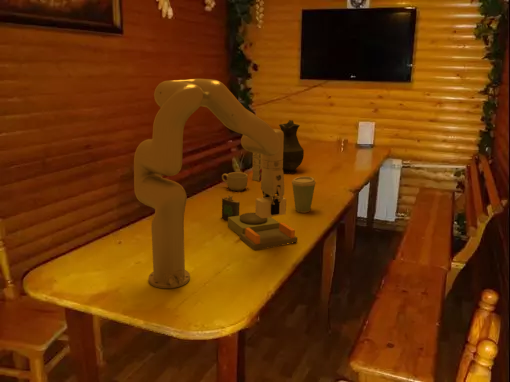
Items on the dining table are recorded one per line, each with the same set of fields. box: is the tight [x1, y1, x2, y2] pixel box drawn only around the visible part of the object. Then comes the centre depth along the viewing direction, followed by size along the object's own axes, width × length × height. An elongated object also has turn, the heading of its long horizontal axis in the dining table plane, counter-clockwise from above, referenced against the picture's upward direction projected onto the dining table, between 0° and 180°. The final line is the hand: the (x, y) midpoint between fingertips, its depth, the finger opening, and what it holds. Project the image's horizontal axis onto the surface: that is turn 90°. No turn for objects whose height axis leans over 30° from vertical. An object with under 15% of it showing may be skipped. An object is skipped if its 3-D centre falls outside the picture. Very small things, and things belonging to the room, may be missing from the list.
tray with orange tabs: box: [227, 212, 298, 251], centre depth 183 cm, size 26×18×5 cm
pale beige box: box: [254, 196, 287, 218], centre depth 174 cm, size 5×10×6 cm, turn 119°
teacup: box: [221, 171, 249, 192], centre depth 245 cm, size 14×11×8 cm
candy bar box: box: [252, 152, 262, 182], centre depth 265 cm, size 11×5×16 cm, turn 155°
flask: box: [221, 195, 241, 222], centre depth 198 cm, size 9×3×11 cm, turn 50°
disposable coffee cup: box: [291, 175, 317, 214], centre depth 212 cm, size 11×11×15 cm
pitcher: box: [278, 119, 305, 174], centre depth 282 cm, size 17×21×30 cm
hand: (271, 211), depth 174 cm, fingers closed on pale beige box, 5 cm apart
